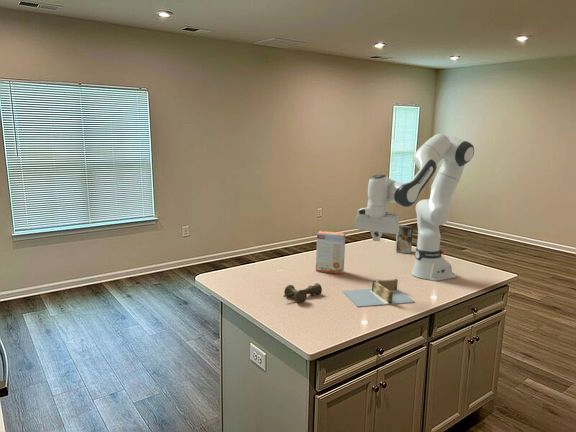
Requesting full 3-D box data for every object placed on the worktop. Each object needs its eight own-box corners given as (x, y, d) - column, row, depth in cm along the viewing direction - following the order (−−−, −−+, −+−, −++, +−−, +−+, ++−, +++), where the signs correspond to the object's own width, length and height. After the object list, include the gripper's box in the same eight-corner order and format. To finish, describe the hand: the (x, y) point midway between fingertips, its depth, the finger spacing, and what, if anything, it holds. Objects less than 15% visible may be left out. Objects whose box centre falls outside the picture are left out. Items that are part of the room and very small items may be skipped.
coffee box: (410, 250, 273) (412, 225, 270) (411, 253, 267) (413, 228, 263) (395, 249, 274) (397, 224, 271) (395, 252, 268) (397, 227, 265)
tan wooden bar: (370, 290, 202) (371, 280, 201) (374, 289, 203) (374, 279, 202) (389, 303, 188) (390, 292, 187) (392, 302, 188) (393, 292, 187)
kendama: (325, 298, 195) (289, 306, 183) (312, 291, 203) (276, 299, 191) (326, 285, 194) (290, 292, 182) (312, 279, 202) (277, 286, 190)
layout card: (395, 287, 208) (396, 276, 207) (414, 302, 191) (416, 290, 190) (342, 291, 202) (342, 280, 201) (357, 307, 185) (358, 294, 183)
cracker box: (343, 271, 230) (346, 232, 226) (341, 274, 225) (343, 235, 220) (318, 267, 235) (319, 230, 230) (315, 271, 229) (316, 232, 225)
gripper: (402, 212, 193) (400, 242, 196) (359, 207, 204) (359, 236, 207) (396, 214, 188) (395, 245, 191) (353, 210, 199) (353, 239, 202)
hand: (376, 240), depth 199 cm, fingers closed
